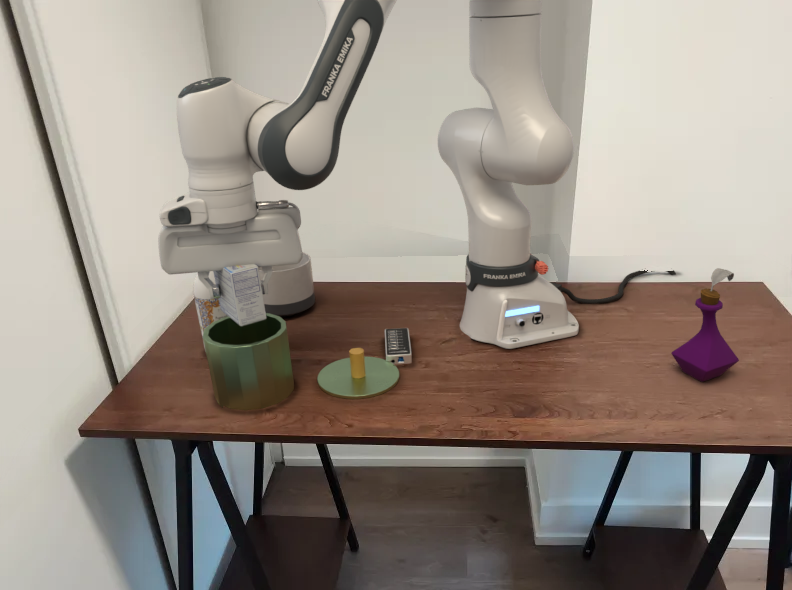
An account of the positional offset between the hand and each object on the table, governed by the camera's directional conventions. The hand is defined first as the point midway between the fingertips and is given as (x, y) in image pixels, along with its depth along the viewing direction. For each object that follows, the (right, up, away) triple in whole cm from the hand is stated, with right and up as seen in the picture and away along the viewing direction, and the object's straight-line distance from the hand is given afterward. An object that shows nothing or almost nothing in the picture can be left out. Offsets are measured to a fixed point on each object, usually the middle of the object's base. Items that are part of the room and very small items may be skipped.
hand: (239, 295), depth 104 cm
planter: (-1, +2, +38) cm, 38 cm away
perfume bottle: (+74, -12, +10) cm, 76 cm away
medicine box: (0, -3, +2) cm, 4 cm away
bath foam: (-8, -7, +22) cm, 25 cm away
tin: (0, -15, +8) cm, 17 cm away
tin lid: (+17, -13, +10) cm, 24 cm away
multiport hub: (+23, -8, +20) cm, 32 cm away
